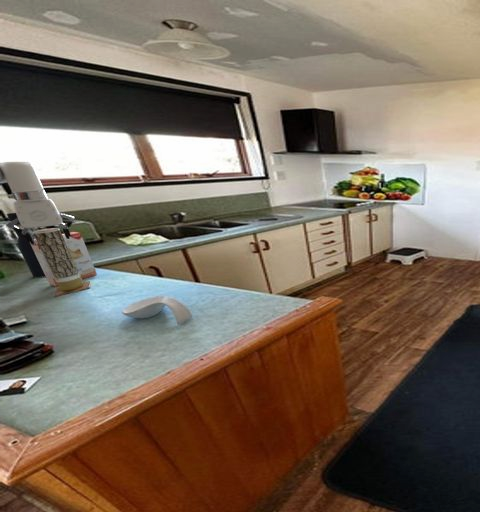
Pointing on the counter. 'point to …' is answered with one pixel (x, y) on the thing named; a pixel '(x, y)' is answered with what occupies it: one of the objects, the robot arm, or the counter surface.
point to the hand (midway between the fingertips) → (51, 240)
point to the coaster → (60, 292)
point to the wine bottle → (27, 250)
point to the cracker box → (77, 253)
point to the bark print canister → (58, 258)
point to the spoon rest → (157, 308)
